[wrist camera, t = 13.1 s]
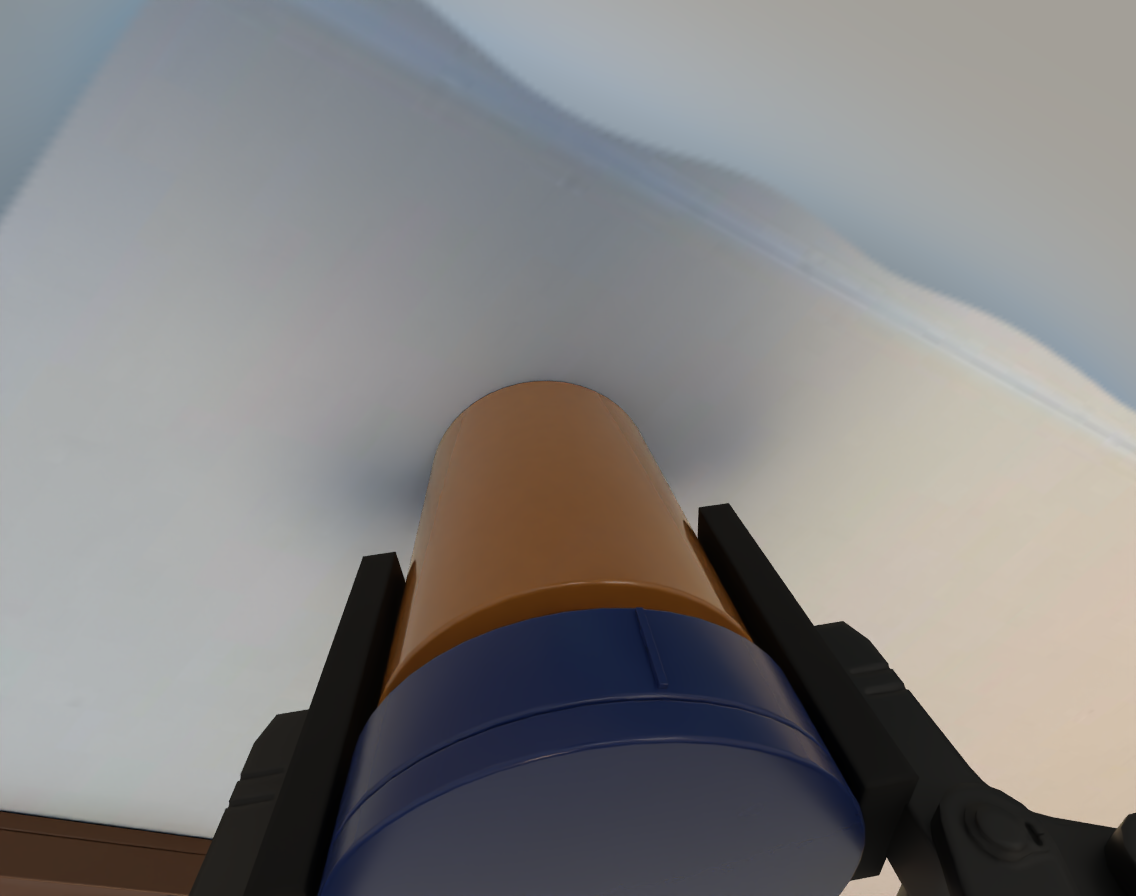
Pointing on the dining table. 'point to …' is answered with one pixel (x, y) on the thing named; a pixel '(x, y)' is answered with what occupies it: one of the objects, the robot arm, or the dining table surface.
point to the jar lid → (595, 770)
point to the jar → (545, 526)
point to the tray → (93, 859)
